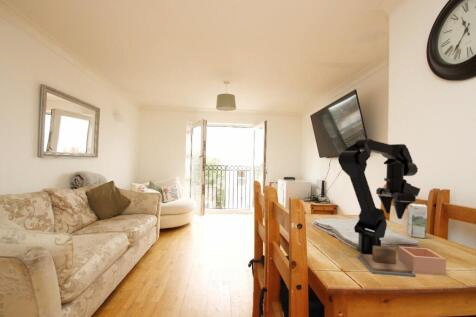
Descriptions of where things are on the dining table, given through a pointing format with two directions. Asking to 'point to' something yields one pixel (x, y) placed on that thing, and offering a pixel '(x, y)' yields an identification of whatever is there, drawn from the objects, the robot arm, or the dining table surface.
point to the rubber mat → (386, 272)
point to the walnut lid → (384, 260)
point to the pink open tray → (422, 260)
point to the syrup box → (417, 220)
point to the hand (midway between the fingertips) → (393, 216)
